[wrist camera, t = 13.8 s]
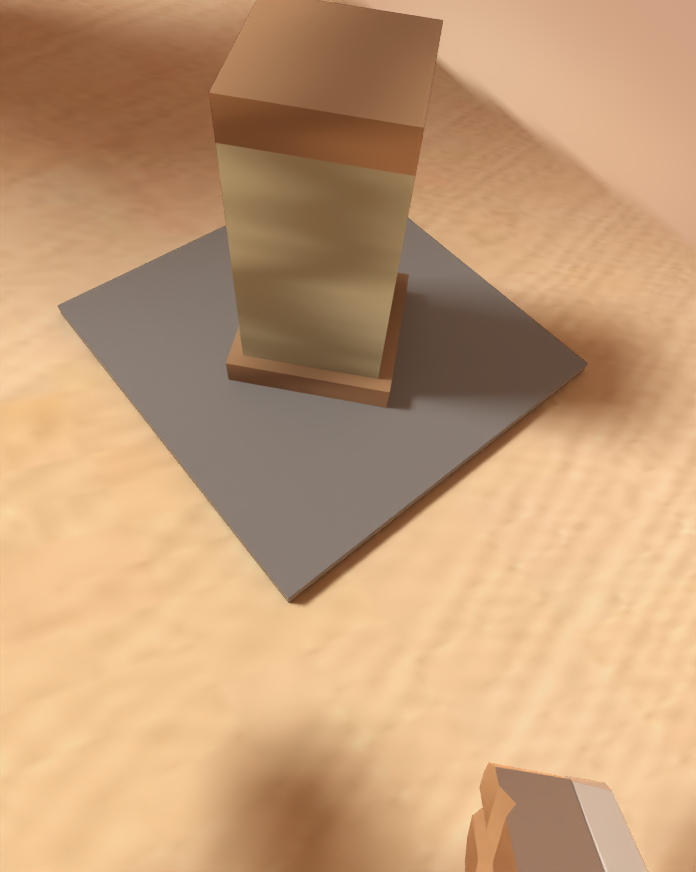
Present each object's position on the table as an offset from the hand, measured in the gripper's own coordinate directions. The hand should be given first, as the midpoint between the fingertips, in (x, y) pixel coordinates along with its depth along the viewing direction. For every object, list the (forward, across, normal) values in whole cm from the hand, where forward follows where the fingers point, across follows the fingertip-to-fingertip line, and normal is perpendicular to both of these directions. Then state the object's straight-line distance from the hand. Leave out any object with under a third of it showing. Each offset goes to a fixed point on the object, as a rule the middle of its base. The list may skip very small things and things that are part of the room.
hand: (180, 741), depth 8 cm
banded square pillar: (+13, 0, -5) cm, 14 cm away
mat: (+13, 0, -4) cm, 14 cm away
